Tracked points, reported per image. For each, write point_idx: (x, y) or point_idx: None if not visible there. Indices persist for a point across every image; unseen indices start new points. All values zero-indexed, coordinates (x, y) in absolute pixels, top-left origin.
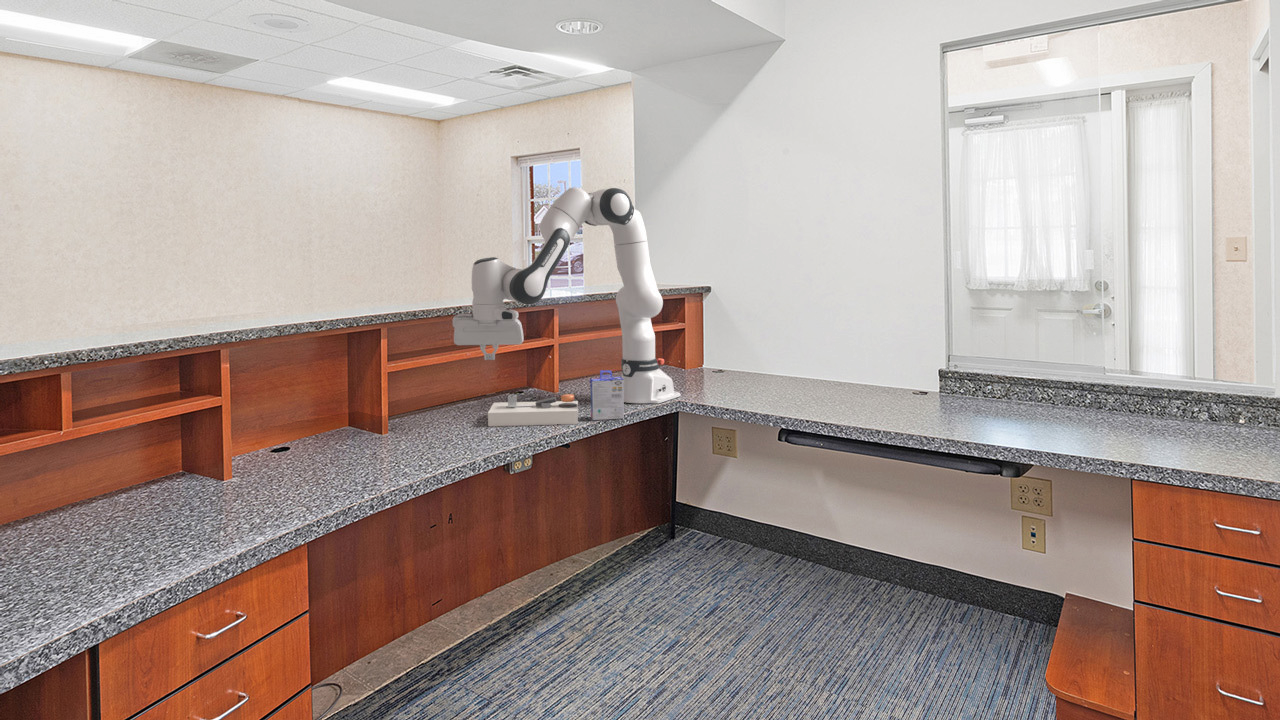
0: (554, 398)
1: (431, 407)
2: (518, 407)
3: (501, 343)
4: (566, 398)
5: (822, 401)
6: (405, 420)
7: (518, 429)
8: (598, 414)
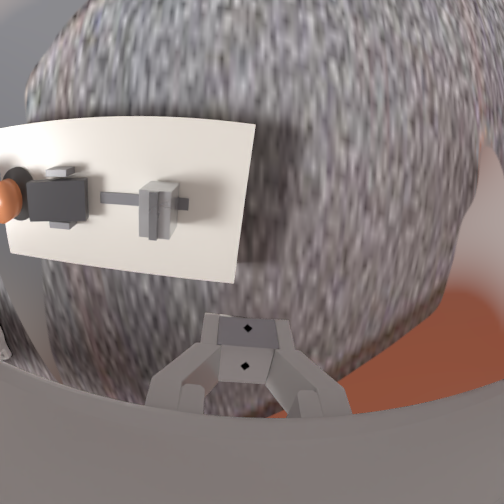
0: (28, 191)
1: (374, 356)
2: None
3: (77, 396)
4: (2, 181)
5: None
6: (443, 254)
7: (160, 71)
8: None
